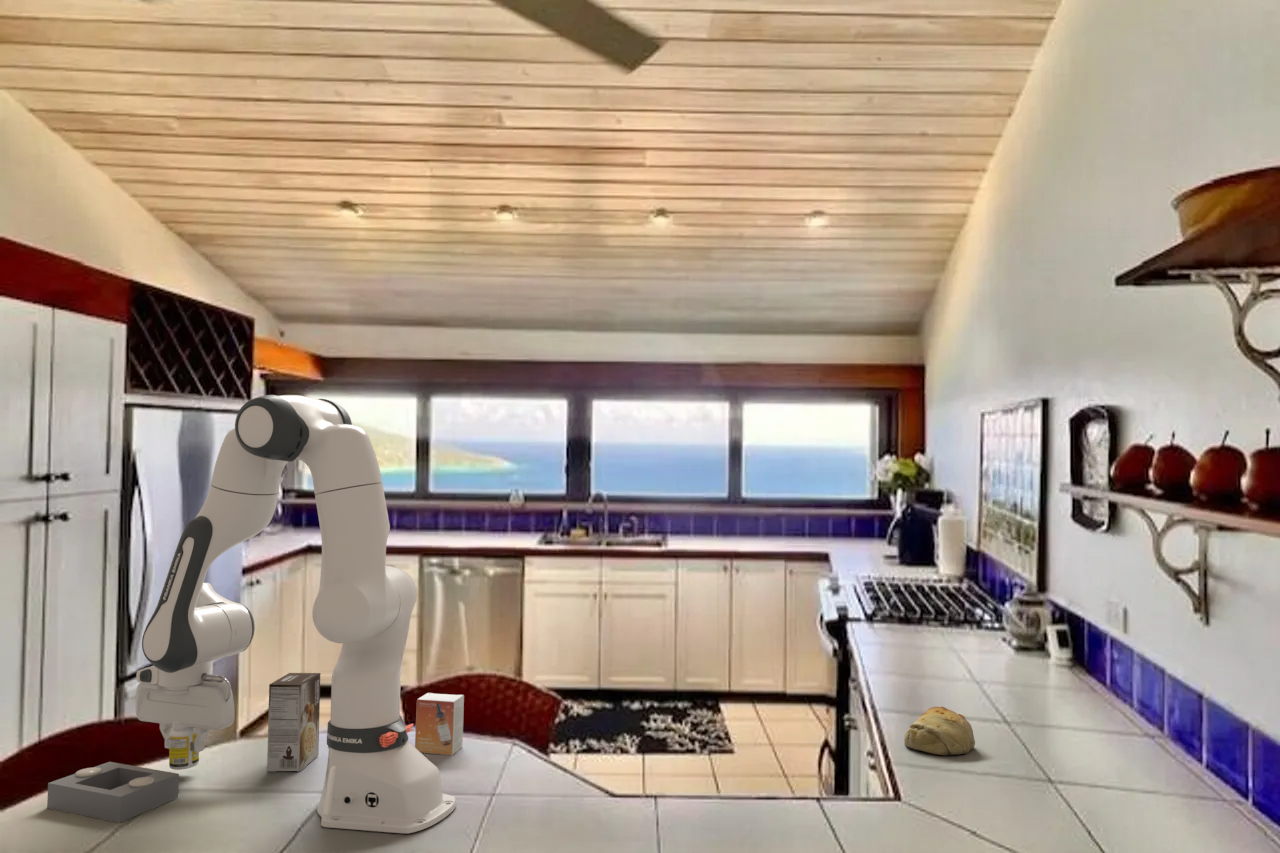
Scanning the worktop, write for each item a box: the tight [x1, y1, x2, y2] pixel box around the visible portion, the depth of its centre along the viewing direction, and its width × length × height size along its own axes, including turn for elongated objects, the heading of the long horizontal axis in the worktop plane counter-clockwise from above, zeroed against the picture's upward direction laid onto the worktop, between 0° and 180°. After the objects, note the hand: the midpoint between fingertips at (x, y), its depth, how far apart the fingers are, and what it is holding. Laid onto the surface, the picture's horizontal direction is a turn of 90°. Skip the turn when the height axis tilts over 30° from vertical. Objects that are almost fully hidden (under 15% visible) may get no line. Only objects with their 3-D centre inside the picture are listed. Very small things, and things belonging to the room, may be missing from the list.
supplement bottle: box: [168, 721, 200, 771], centre depth 157 cm, size 5×5×8 cm
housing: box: [46, 761, 180, 824], centre depth 144 cm, size 16×11×4 cm
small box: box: [414, 692, 465, 757], centre depth 173 cm, size 8×6×10 cm
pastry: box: [903, 706, 976, 757], centre depth 179 cm, size 14×12×8 cm
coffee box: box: [266, 672, 322, 772], centre depth 164 cm, size 9×6×16 cm
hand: (184, 749), depth 157 cm, fingers closed on supplement bottle, 5 cm apart
